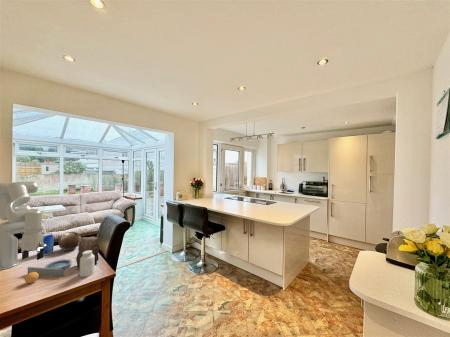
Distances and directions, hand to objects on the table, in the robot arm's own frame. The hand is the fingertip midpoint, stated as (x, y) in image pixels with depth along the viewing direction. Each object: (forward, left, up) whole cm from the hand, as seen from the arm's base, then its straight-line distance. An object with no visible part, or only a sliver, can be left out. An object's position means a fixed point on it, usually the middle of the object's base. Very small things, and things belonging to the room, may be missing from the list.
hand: (32, 258), depth 115 cm
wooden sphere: (-18, +45, -15) cm, 51 cm away
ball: (0, 0, -12) cm, 12 cm away
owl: (+17, +21, -15) cm, 31 cm away
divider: (0, +8, -15) cm, 17 cm away
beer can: (-30, +36, -15) cm, 50 cm away
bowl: (0, +17, -15) cm, 23 cm away
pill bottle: (+26, +12, -15) cm, 32 cm away
